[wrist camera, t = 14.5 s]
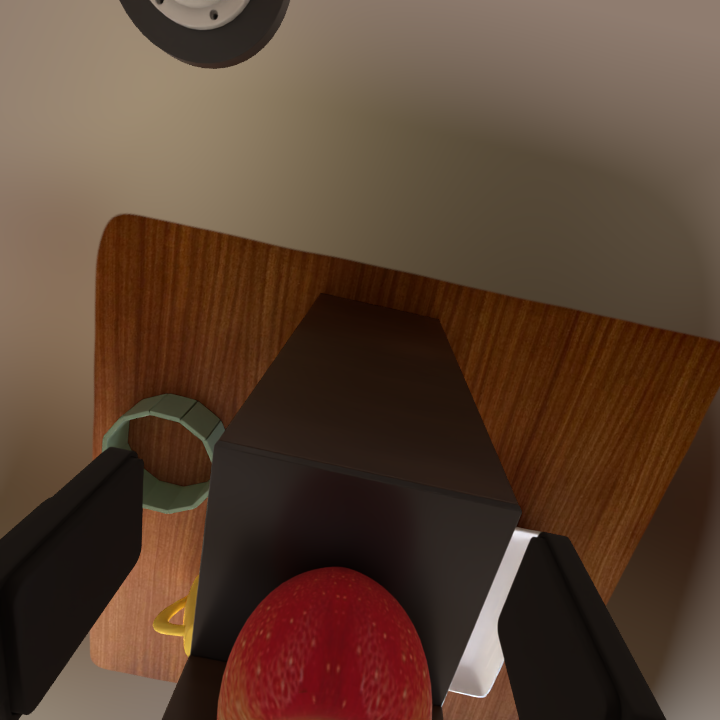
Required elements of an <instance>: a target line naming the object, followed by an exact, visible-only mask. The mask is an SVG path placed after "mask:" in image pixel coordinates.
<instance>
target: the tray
mask: <svg viewBox="0 0 720 720" xmlns="http://www.w3.org/2000/svg"><path fill="white" fill-rule="evenodd" d="M540 533H541V532H539V531H534V530H529V529H524V528H519V527H516V528H515V531H514V533H513V535H512V538H511V540H510V543H509V545H508V547H507V550H506V552H505V555H504V557H503V560H502V562H501V564H500V567H499V569H498V572H497V574H496V576H495V579H494V581H493V584H492V586H491V588H490V591H489V593H488V596H487V598H486V601H485V603H484V605H483V608H482V610H481V613H480V615H479V617H478V620H477V622H476V625H475V627H474V630H473V632H472V634H471V637H470V639H469V642H468V644H467V646H466V649H465V651H464V654H463V656H462V658H461V661H460V663H459V666H458V668H457V671H456V673H455V675H454V678H453V680H452V683H451V685H450V687H449V690H448V691H453V692H457V693H461V694H466V695H470V696H475V697H481V698H482V697H485V696H486V695H487V694H488V693H489V691H490V689H491V688H492V686H493V684H494V681H495V679H496V677H497V675H498V673H499V671H500V669H501V666H502V664H503V662H504V657H503V653H502V649H501V645H500V641H499V637H498V630H497V625H498V619H499V616H500V613H501V611H502V608H503V606H504V603H505V601H506V598H507V596H508V593H509V591H510V588H511V586H512V583H513V581H514V578H515V576H516V573H517V571H518V568H519V566H520V563H521V561H522V558H523V556H524V553H525V551H526V548H527V546H528V544H529V541H530V539H531V538H532V537H538V535H539V534H540Z"/></svg>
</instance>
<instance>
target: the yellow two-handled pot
mask: <svg viewBox="0 0 720 720" xmlns="http://www.w3.org/2000/svg"><path fill="white" fill-rule="evenodd" d="M198 581H199V574H198V576H197V577H196V578H195V580H194V582H193V584H192V586H191V589H190V591H189V594H188V595H187V596H186V597H184V598H182V599H180V600H178V601H177V602H175V603H173V604H171V605H170V606H168V607H167V608H165V609H164V610H163V611H161V612H160V613H159V614H158V616H157V617H156V618H155V620H154V622H153V627H154V629H155V630H156V631H157V632H159V633H162V634H167V635H174V636H183V639H184V650H185V653H186V655H187V656H188V657H189V656H190V651H191V642H192V633H193V624H194V616H195V607H196V598H197V589H198ZM184 607H185V610H184V618H183V625H176V624H171V623H169V622H168V621H169V620H170V619H171V617H172V616H173V615H175V614H176V613H177V612H178V611H179V610H181V609H182V608H184Z"/></svg>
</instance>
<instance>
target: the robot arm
mask: <svg viewBox="0 0 720 720" xmlns="http://www.w3.org/2000/svg"><path fill="white" fill-rule="evenodd" d="M150 1H151V2H152V3H153V4H154V5H155V7H156V8H157V9H158V10H159V11H161V12H162V13H163V14H164V15H165V16H166V17H168V18H169V19H171V20H173V21H174V22H176V23H177V24H180V25H182V26H184V27H187V28H191V29H196V30H211V29H215V28H218V27H221V26H224V25H225V24H227V23H229V22H231V21H232V20H234V19H235V18H236V17H237V16H238V15H239V14H240V13H241V12H242V11H243V9H244V8H245V7H246V5H247V4H248V3H249V1H250V0H164V1H163V3H162V4H161V2H162V0H150ZM216 15H218V18H217V19H216V20H215V16H216ZM143 477H144V462H143V460H142V459H139V458H138V455H137V453H136V452H135V451H131V450H126V449H121V448H116V447H109V448H107V449H106V450H105V451H104V452H102V453H101V454H100V455H99V456H98V457H97V458H96V459H94V460H93V461H92V462H91V463H90V464H89V465H88V466H87V467H85V468H84V469H83V470H82V471H81V472H80V473H79V474H78V475H76V476H75V477H74V478H73V479H72V480H71V481H70V482H69V483H67V484H66V485H65V486H64V487H63V488H62V489H61V490H59V491H58V492H57V493H56V494H55V495H54V496H53V497H51V498H48V499H47V500H45V501H44V502H43V503H41V504H40V505H39V506H38V507H37V508H36V509H34V510H33V511H32V512H31V513H30V514H29V515H28V516H26V517H25V518H24V519H23V520H22V521H21V522H20V523H19V524H17V525H16V526H15V527H14V528H13V529H12V530H11V531H9V532H8V533H7V534H6V535H5V536H4V537H3V538H1V539H0V720H19V718H20V717H21V715H22V714H24V715H29V714H30V713H31V712H33V711H34V710H35V708H36V707H37V706H38V704H39V703H40V702H41V700H42V699H43V697H44V696H45V694H46V693H47V691H48V690H49V689H50V687H51V686H52V684H53V683H54V681H55V680H56V678H57V677H58V675H59V674H60V673H61V671H62V670H63V668H64V667H65V665H66V664H67V663H68V661H69V660H70V658H71V657H72V655H73V654H74V652H75V651H76V649H77V648H78V647H79V645H80V644H81V642H82V641H83V639H84V638H85V637H86V635H87V634H88V632H89V631H90V629H91V628H92V626H93V625H94V624H95V622H96V621H97V619H98V618H99V616H100V615H101V613H102V612H103V611H104V609H105V608H106V606H107V605H108V603H109V602H110V600H111V599H112V598H113V596H114V595H115V593H116V592H117V590H118V589H119V587H120V586H121V585H122V583H123V582H124V580H125V579H126V577H127V576H128V574H129V573H130V572H131V570H132V569H133V567H134V566H135V564H136V563H137V561H138V558H139V556H140V552H141V546H142V512H143ZM497 630H498V637H499V641H500V645H501V649H502V653H503V657H504V661H505V665H506V669H507V672H508V676H509V680H510V684H511V688H512V692H513V696H514V700H515V704H516V708H517V712H518V716H519V720H666V718H665V716H664V714H663V712H662V711H661V709H660V707H659V705H658V703H657V701H656V699H655V697H654V696H653V694H652V692H651V690H650V688H649V686H648V684H647V683H646V681H645V679H644V677H643V675H642V673H641V671H640V670H639V668H638V666H637V664H636V662H635V660H634V658H633V657H632V655H631V653H630V651H629V649H628V647H627V645H626V643H625V642H624V640H623V638H622V636H621V634H620V632H619V630H618V629H617V627H616V625H615V623H614V621H613V619H612V617H611V616H610V614H609V612H608V610H607V608H606V606H605V604H604V602H603V601H602V599H601V597H600V595H599V593H598V591H597V589H596V587H595V586H594V584H593V582H592V580H591V578H590V576H589V574H588V573H587V571H586V569H585V567H584V565H583V563H582V561H581V560H580V558H579V556H578V554H577V552H576V550H575V548H574V546H573V545H572V543H571V541H570V540H569V538H568V537H566V536H561V535H556V534H551V533H546V532H541V533H540V534H539V535H538V537H532V538H531V539H530V541H529V544H528V546H527V548H526V551H525V553H524V556H523V558H522V561H521V563H520V566H519V568H518V571H517V573H516V576H515V578H514V581H513V583H512V586H511V588H510V591H509V593H508V596H507V598H506V601H505V603H504V606H503V608H502V611H501V613H500V616H499V619H498V625H497Z"/></svg>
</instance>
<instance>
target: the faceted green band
mask: <svg viewBox="0 0 720 720" xmlns="http://www.w3.org/2000/svg"><path fill="white" fill-rule="evenodd" d="M147 415H153V416H157V417H161V418H164V419H168V420H172V421H176V422H180V423H181V424H182V425H183V426H184V427H186V428H187V429H188V430H189V431H191V432H192V433H193V434H194V435H195V436H197V437H198V438H199V439H200V440H202V441H203V444H204V446H205V448H206V451H207V453H208V455H209V457H210V460H211V462H212V458H213V449H214V445H215V444H216V442H217V441H218V440H219V438H220V437H221V435H222V434H223V433H224V431H225V429H224V426H223V424H222V421H219V420H220V419H219V418H218V417H217V416H216V415H214V414H213V413H212V412H211V411H210V410H208V409H207V408H206V407H205V406H204V405H202V404H201V403H200V402H199V401H198V402H197V400H193V399H189V398H186V397H182V396H178V395H174V394H168V393H167V394H163V395H159V396H155V397H151V398H147V399H143V400H141V401H140V402H138V403H137V404H136V405H135V406H134V407H132V408H131V409H130V410H129V411H128V412H126V413H125V414H124V415H123V416H121V417H120V418H119V419H118V420H117V422H116V423H115V424H114V425H113V426H112V427H111V428H110V429H109V431H108V432H107V433H106V434H105V435H104V437H103V445H102V452H104V451H105V450H106V449H107V448H109V447H116V448H121V449H126V450H131V448H130V446H129V444H128V433H129V422H130V420H131V419H135V418H139V417H143V416H147ZM131 451H132V450H131ZM209 484H210V480H209V481H207V482H204V483H199V484H195V485H190V486H185V487H183V486H179V485H175V484H171V483H167V482H163V481H159V480H158V479H157V478H155V477H154V476H153V475H151V474H150V473H149V472H148V471H146V470H145V469H144V477H143V508H146V509H150V510H154V511H158V512H162V513H166V514H168V513H169V514H171V513H176V512H181V511H185V510H190V509H194V508H196V507H198V506H199V505H200V504H201V503H202V502H203V501H204V500H205V499H206V498H207V497H208V493H209Z"/></svg>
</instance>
